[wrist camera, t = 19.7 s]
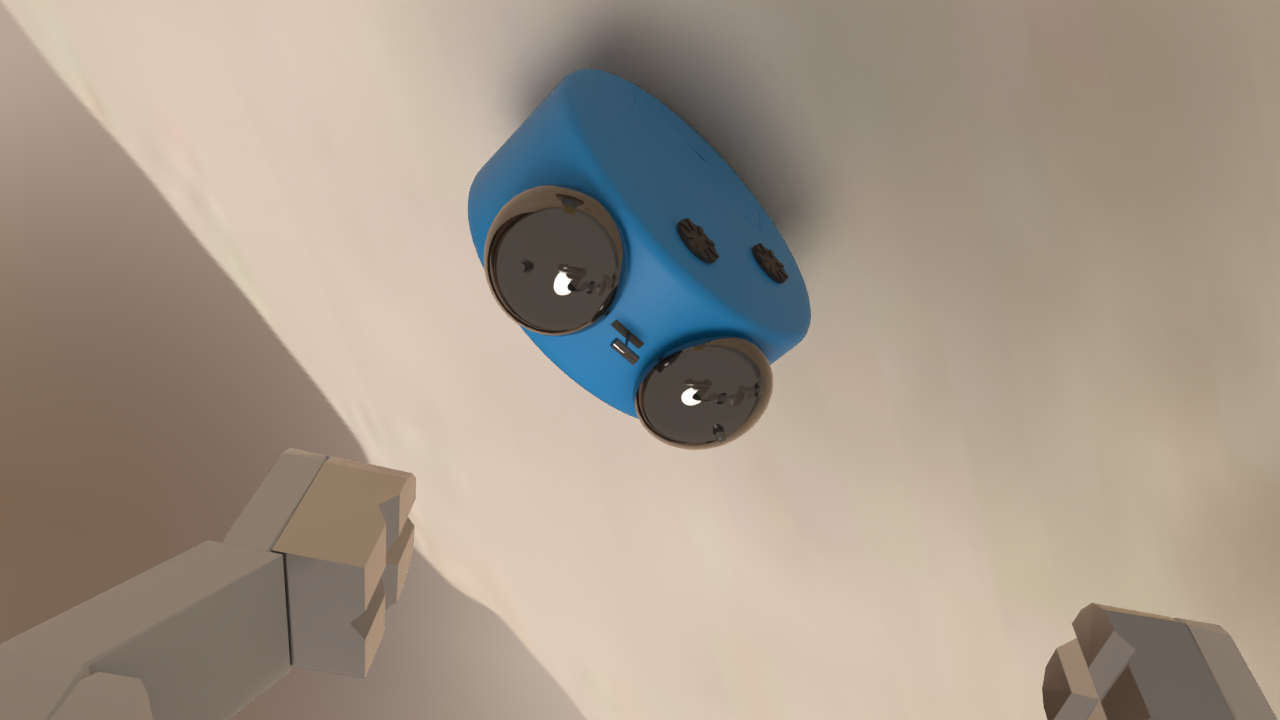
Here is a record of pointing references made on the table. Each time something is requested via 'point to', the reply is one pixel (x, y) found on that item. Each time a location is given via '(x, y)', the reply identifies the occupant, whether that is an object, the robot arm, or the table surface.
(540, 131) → the alarm clock
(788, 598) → the table surface
